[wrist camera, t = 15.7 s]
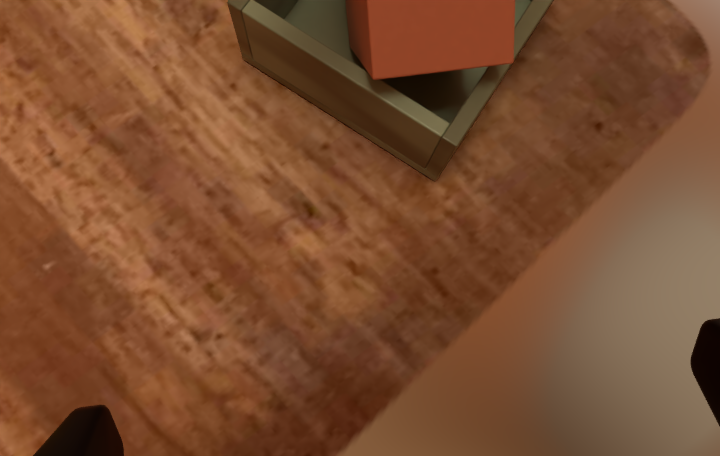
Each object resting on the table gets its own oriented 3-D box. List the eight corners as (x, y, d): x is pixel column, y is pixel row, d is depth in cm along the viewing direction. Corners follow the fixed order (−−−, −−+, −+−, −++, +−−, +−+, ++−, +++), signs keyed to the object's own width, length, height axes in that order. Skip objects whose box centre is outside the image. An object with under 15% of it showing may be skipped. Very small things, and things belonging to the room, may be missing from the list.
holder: (548, 9, 26) (588, -55, 22) (435, 182, 24) (456, 147, 20) (366, -101, 27) (373, -183, 23) (242, 59, 25) (226, 1, 21)
